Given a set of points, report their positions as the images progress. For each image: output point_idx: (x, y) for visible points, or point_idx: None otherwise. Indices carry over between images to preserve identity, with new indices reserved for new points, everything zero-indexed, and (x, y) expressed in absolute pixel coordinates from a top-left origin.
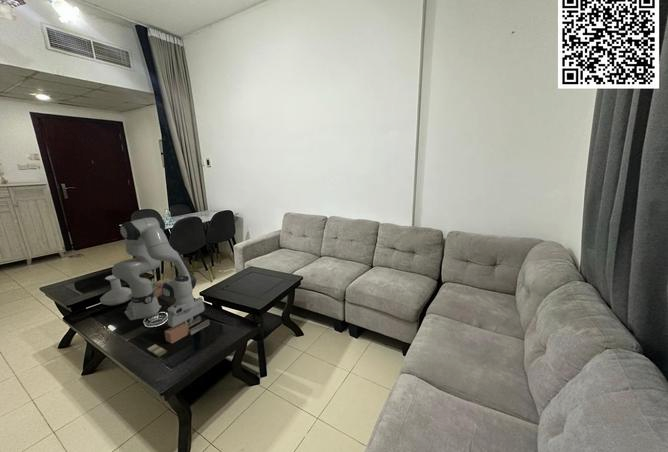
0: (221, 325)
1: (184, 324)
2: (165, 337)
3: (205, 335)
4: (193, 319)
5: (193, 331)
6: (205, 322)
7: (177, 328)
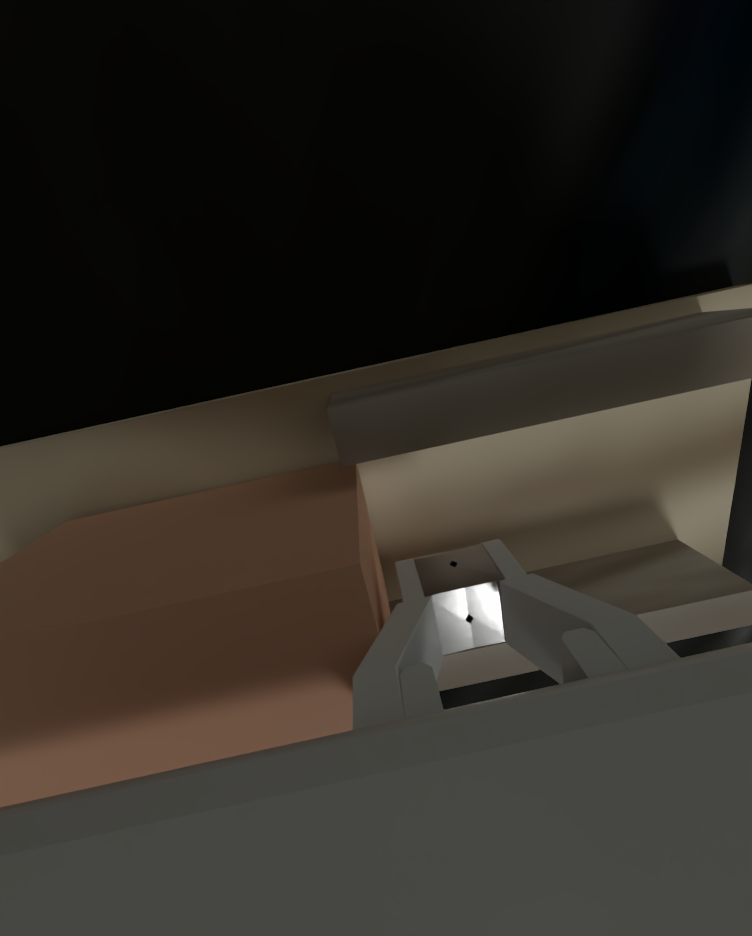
0: (716, 636)
1: (352, 718)
2: (11, 557)
3: (499, 684)
4: (647, 362)
5: None
6: (668, 639)
7: (167, 766)
